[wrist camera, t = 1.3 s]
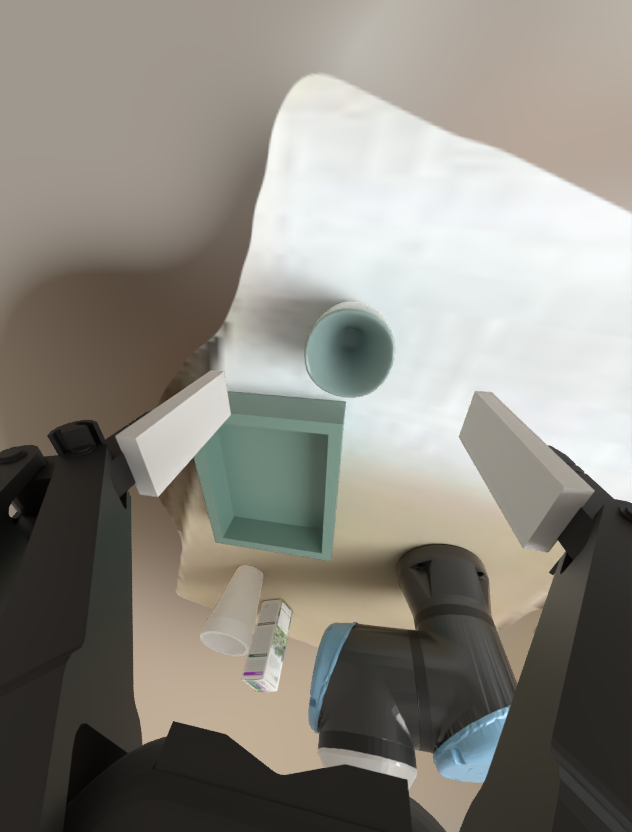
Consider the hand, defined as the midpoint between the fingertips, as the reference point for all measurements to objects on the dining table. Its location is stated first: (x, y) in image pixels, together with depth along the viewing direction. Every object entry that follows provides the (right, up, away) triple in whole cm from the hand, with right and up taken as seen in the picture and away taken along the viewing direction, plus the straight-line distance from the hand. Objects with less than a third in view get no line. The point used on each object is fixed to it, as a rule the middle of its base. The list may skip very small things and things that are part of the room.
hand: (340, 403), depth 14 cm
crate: (-8, -9, +29) cm, 31 cm away
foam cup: (-16, -36, +45) cm, 60 cm away
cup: (+3, +9, +17) cm, 20 cm away
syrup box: (-11, -47, +51) cm, 70 cm away
